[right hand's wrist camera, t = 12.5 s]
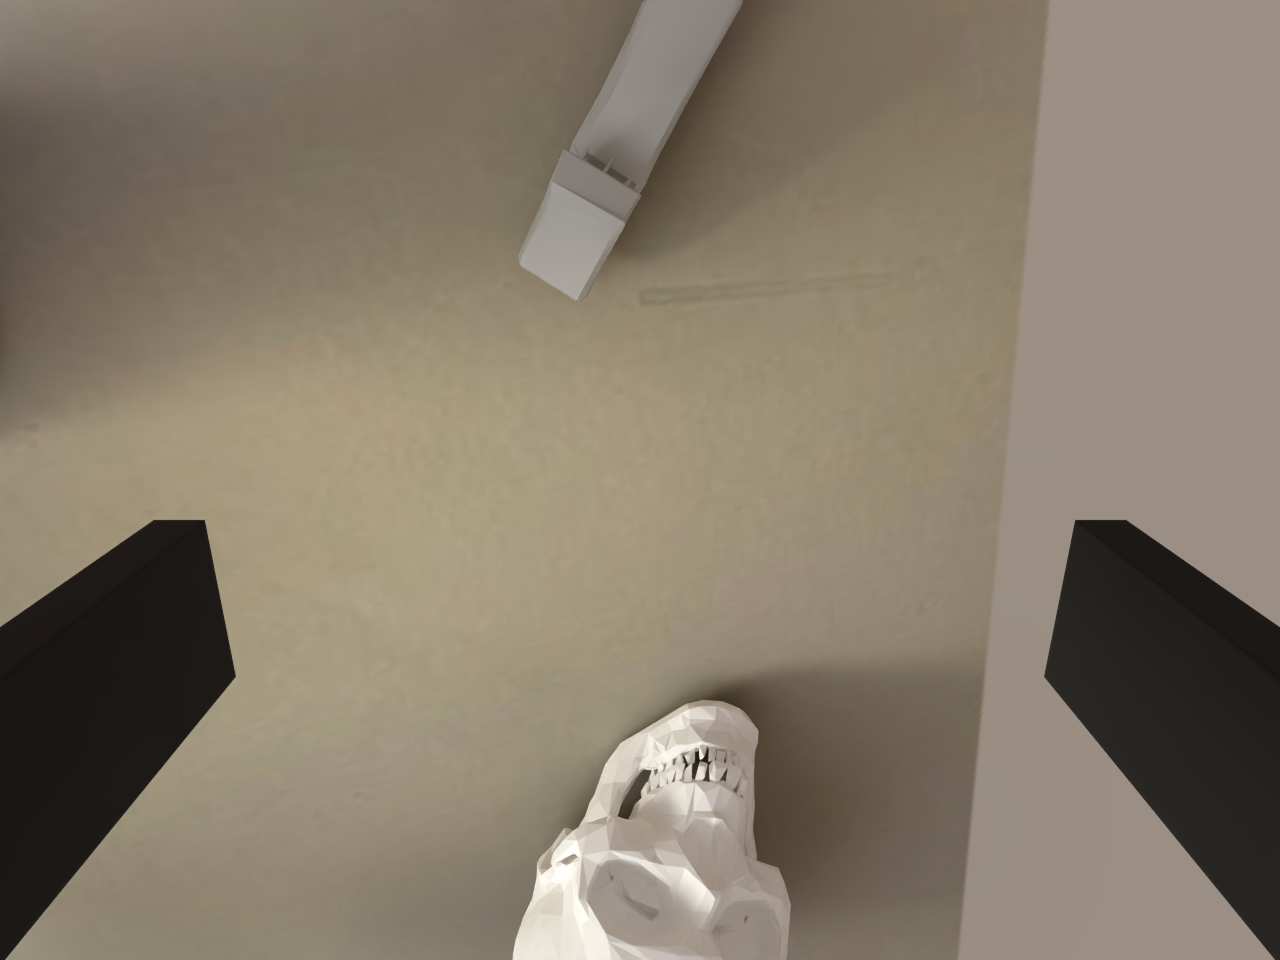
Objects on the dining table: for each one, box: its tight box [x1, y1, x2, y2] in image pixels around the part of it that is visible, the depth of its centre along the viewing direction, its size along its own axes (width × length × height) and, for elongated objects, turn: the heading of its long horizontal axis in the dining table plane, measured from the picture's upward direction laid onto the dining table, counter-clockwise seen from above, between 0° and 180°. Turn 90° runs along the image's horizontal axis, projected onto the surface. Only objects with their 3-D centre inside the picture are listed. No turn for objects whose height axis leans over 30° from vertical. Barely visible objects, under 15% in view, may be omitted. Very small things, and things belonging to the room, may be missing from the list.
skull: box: [513, 700, 791, 960], centre depth 44 cm, size 13×22×16 cm, turn 162°
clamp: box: [518, 0, 743, 301], centre depth 34 cm, size 20×4×7 cm, turn 151°
